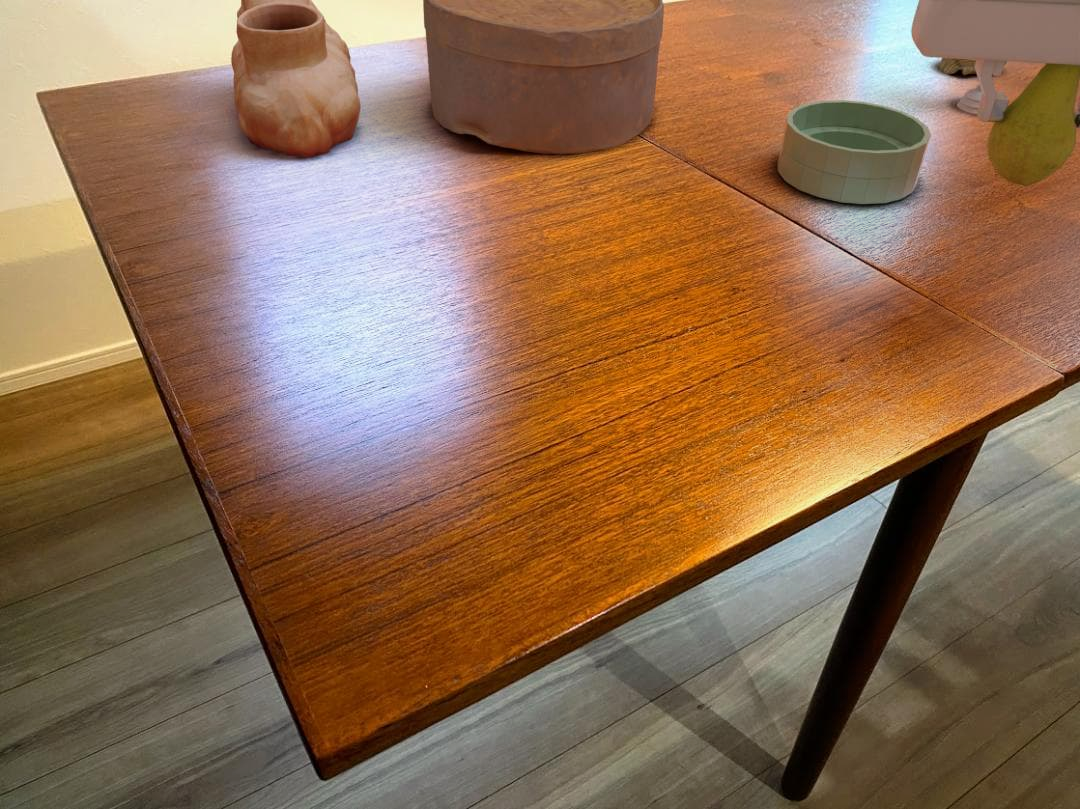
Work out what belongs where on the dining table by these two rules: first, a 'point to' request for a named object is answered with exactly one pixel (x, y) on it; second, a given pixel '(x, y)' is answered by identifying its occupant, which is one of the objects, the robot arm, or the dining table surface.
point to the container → (544, 70)
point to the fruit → (1037, 127)
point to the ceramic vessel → (292, 79)
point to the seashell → (958, 66)
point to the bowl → (852, 151)
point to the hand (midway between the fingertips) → (1035, 122)
